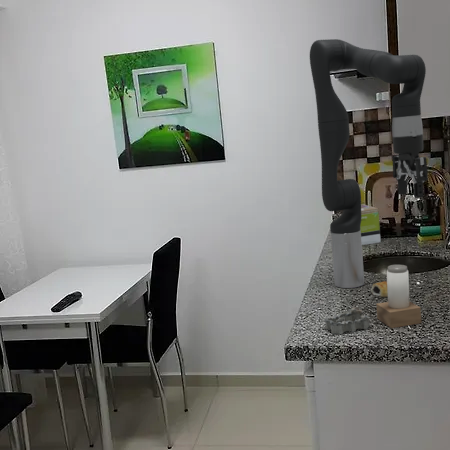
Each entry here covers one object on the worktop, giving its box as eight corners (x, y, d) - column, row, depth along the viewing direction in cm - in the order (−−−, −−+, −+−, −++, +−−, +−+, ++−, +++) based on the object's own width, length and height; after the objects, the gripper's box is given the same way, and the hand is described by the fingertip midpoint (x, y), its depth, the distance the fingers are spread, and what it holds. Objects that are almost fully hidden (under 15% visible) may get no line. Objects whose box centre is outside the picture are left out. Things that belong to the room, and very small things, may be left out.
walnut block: (377, 318, 152) (376, 303, 151) (406, 313, 153) (405, 299, 152) (391, 328, 144) (390, 312, 143) (421, 323, 145) (420, 307, 145)
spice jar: (384, 303, 150) (382, 265, 148) (403, 301, 151) (402, 263, 149) (393, 309, 145) (392, 270, 143) (413, 307, 146) (412, 267, 144)
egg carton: (361, 320, 152) (360, 305, 152) (374, 329, 145) (373, 313, 144) (322, 327, 150) (321, 312, 150) (333, 336, 143) (332, 320, 143)
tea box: (344, 240, 256) (342, 206, 253) (366, 237, 257) (364, 203, 255) (358, 245, 241) (356, 210, 239) (381, 242, 243) (379, 207, 240)
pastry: (395, 288, 177) (394, 276, 177) (409, 293, 171) (409, 280, 170) (369, 294, 174) (368, 281, 173) (383, 299, 168) (382, 286, 167)
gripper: (382, 135, 159) (385, 195, 162) (407, 135, 145) (410, 200, 148) (407, 132, 160) (410, 191, 163) (435, 132, 146) (438, 196, 149)
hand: (410, 195), depth 155 cm, fingers open, 8 cm apart
